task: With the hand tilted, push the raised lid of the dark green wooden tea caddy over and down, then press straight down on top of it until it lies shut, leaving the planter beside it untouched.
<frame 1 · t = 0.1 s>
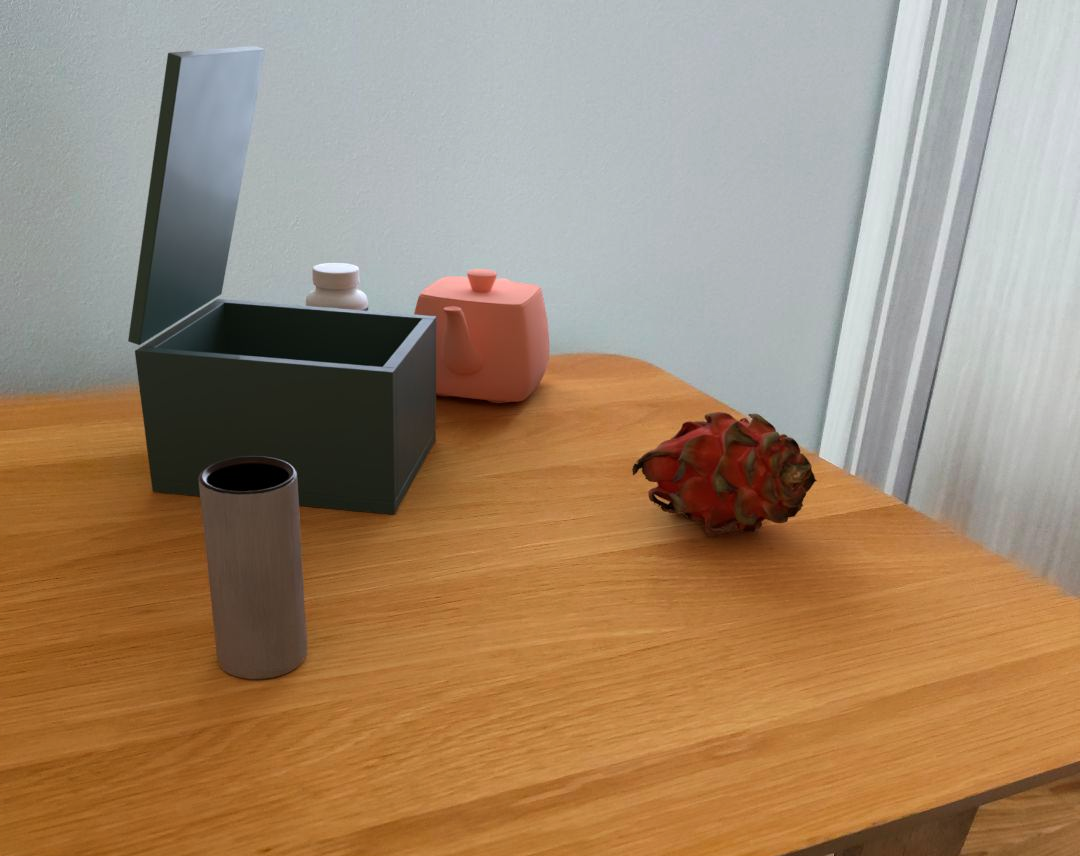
dragon fruit: (715, 527, 72), on the table
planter: (263, 659, 55), on the table
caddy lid: (198, 191, 69), point 19 cm above the table, hinge at 75.0°
teapot: (476, 392, 94), on the table
pill bottle: (339, 377, 96), on the table
caddy: (304, 464, 77), on the table
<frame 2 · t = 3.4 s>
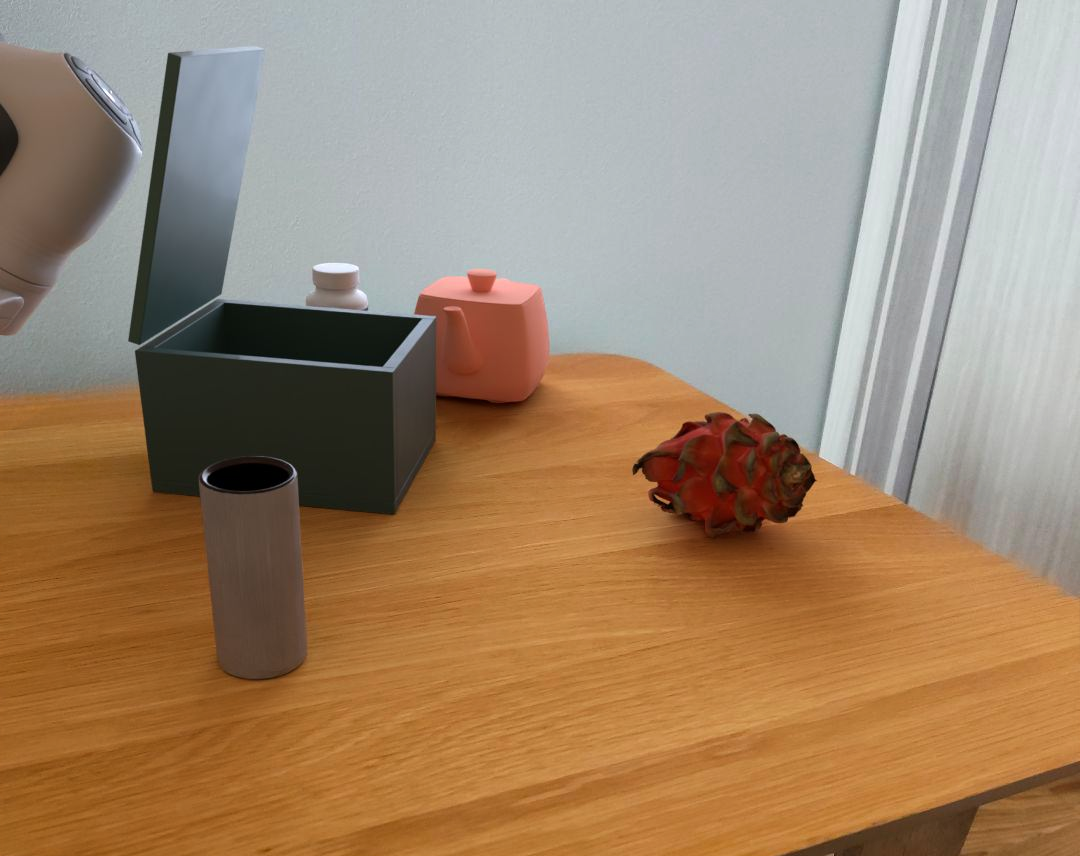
nothing on the table moved.
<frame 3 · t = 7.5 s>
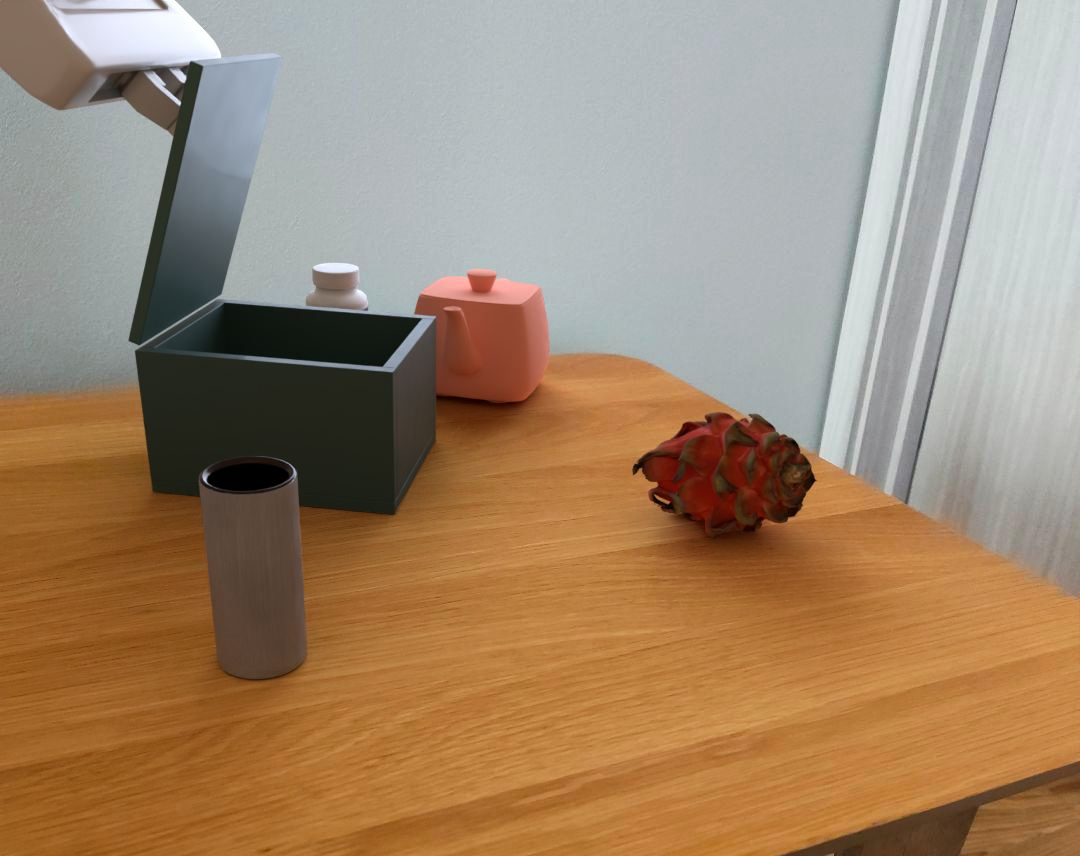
hand: (206, 140, 68), 22 cm above the table, tool tilted 45°, fingers closed, pressing on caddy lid
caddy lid: (208, 194, 69), point 19 cm above the table, hinge at 70.8°, touching gripper
everything else where it was.
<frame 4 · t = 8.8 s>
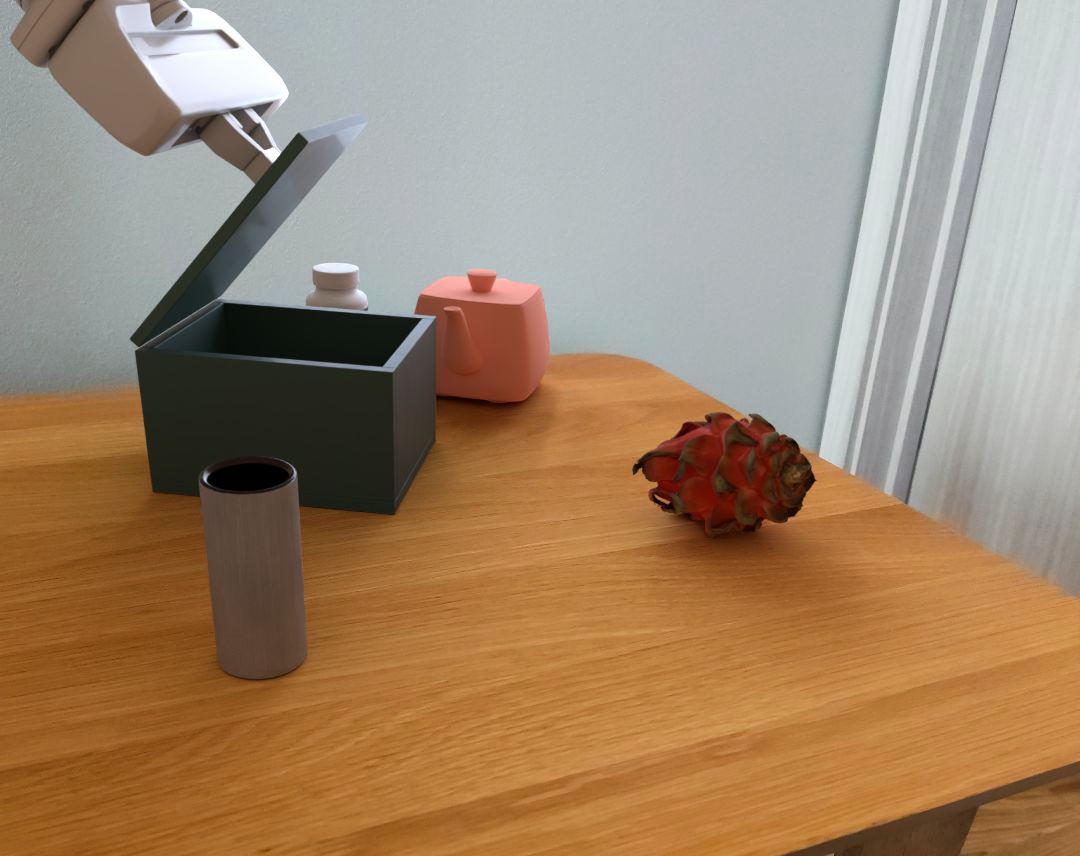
hand: (280, 180, 68), 20 cm above the table, tool tilted 45°, fingers closed
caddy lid: (254, 225, 70), point 17 cm above the table, hinge at 48.0°, touching gripper
everything else where it was.
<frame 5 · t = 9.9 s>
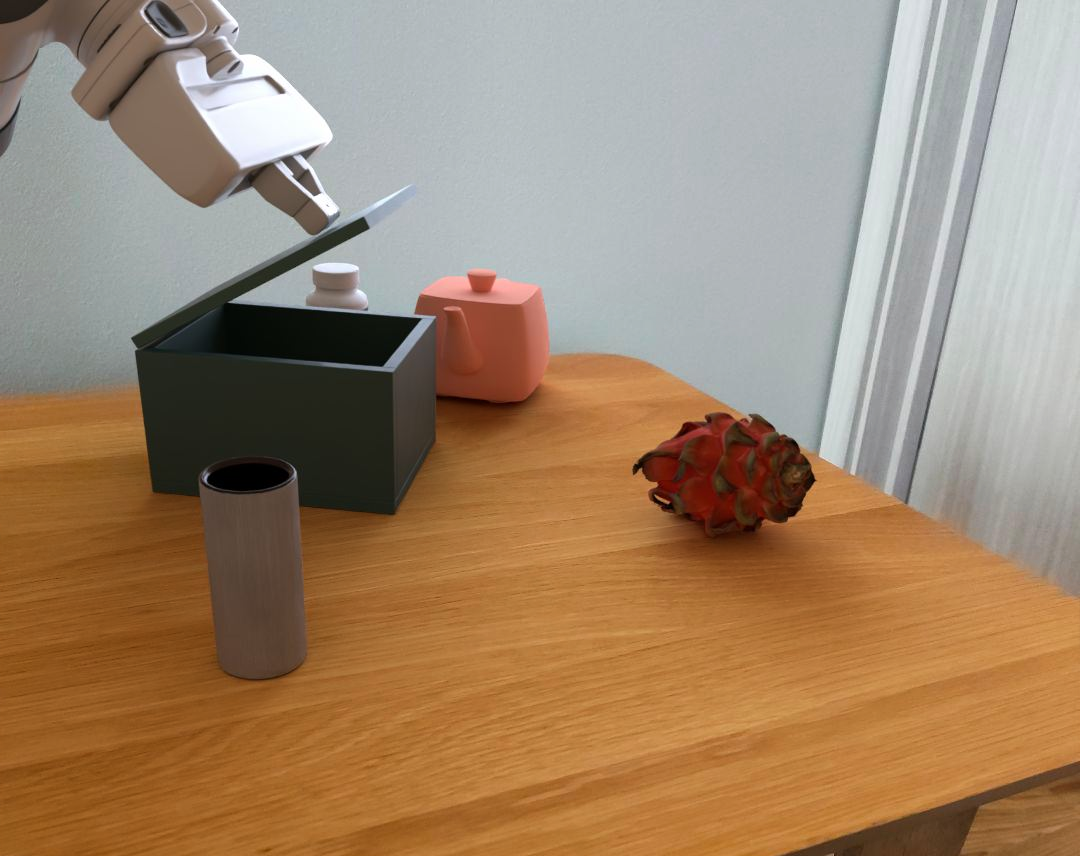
hand: (328, 225, 69), 17 cm above the table, tool tilted 45°, fingers closed, pressing on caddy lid
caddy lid: (282, 261, 71), point 15 cm above the table, hinge at 29.2°, touching gripper
everything else where it was.
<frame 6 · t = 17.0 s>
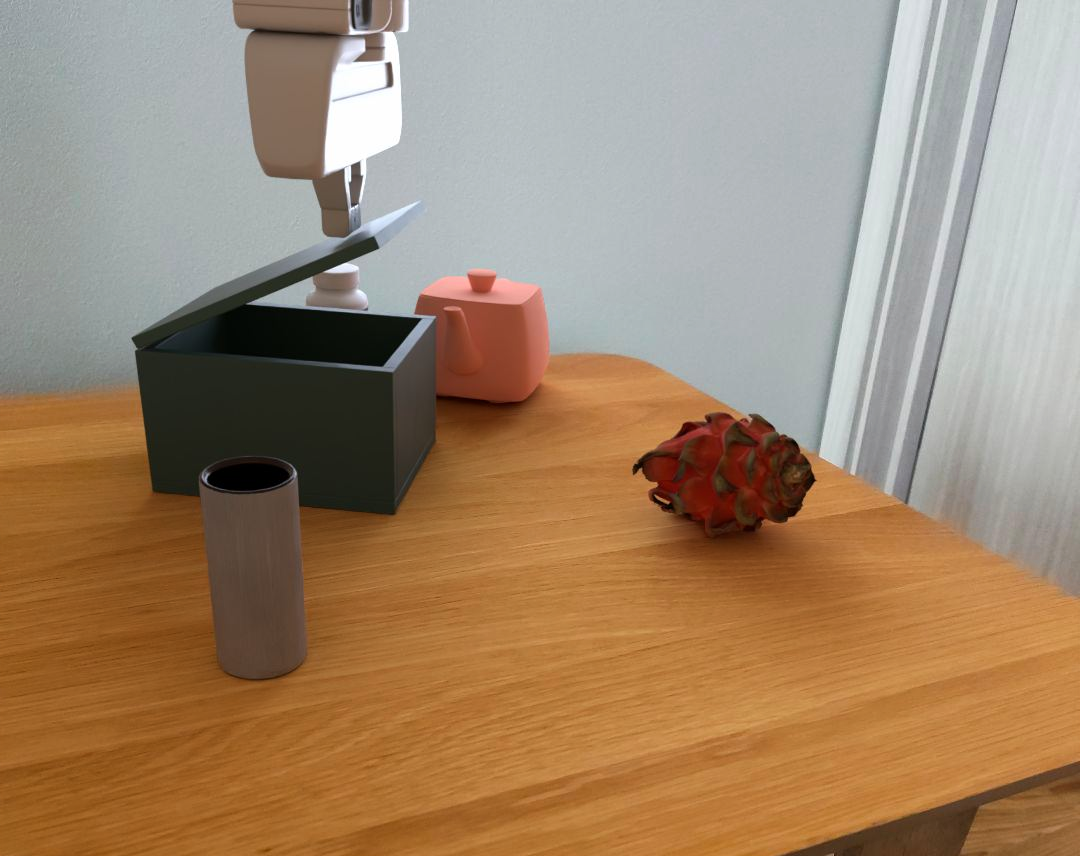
hand: (342, 233, 69), 17 cm above the table, tool pointing down, fingers closed
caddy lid: (287, 270, 71), point 14 cm above the table, hinge at 25.1°, touching gripper
everything else where it was.
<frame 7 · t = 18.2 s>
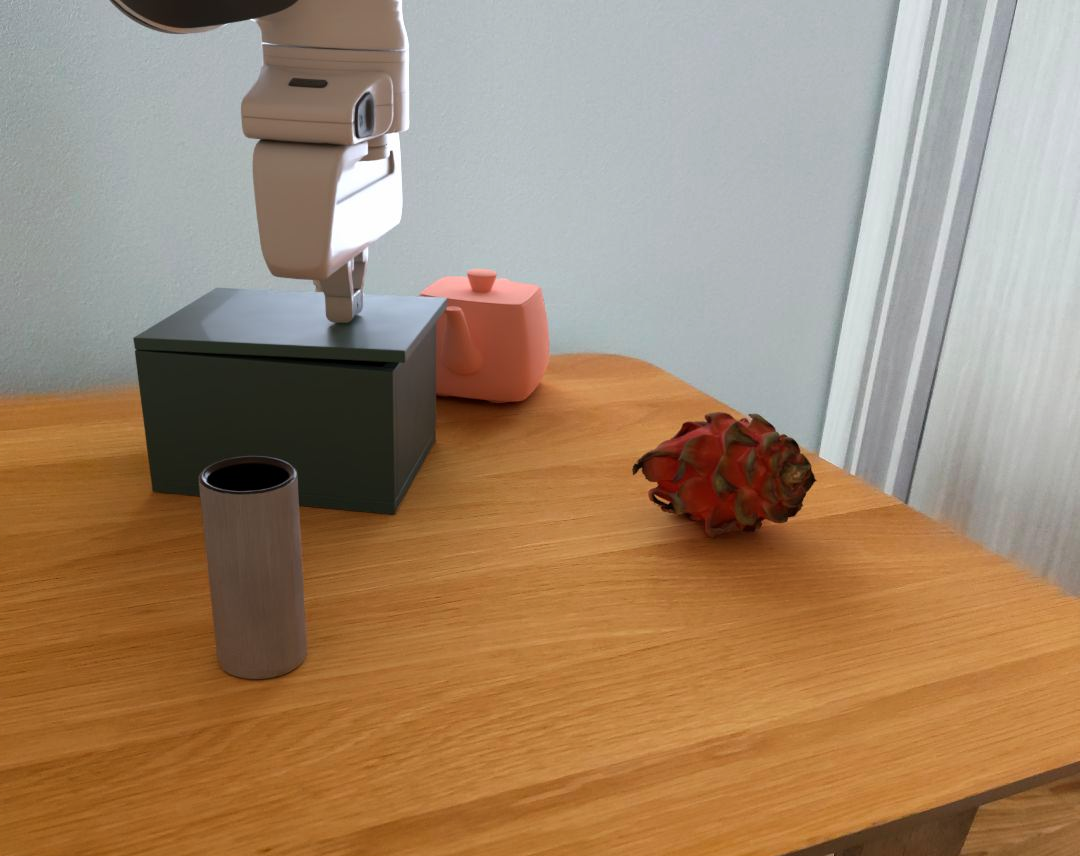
hand: (345, 317, 72), 11 cm above the table, tool pointing down, fingers closed, pressing on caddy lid
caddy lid: (301, 321, 73), point 11 cm above the table, hinge at 1.9°, touching gripper
everything else where it was.
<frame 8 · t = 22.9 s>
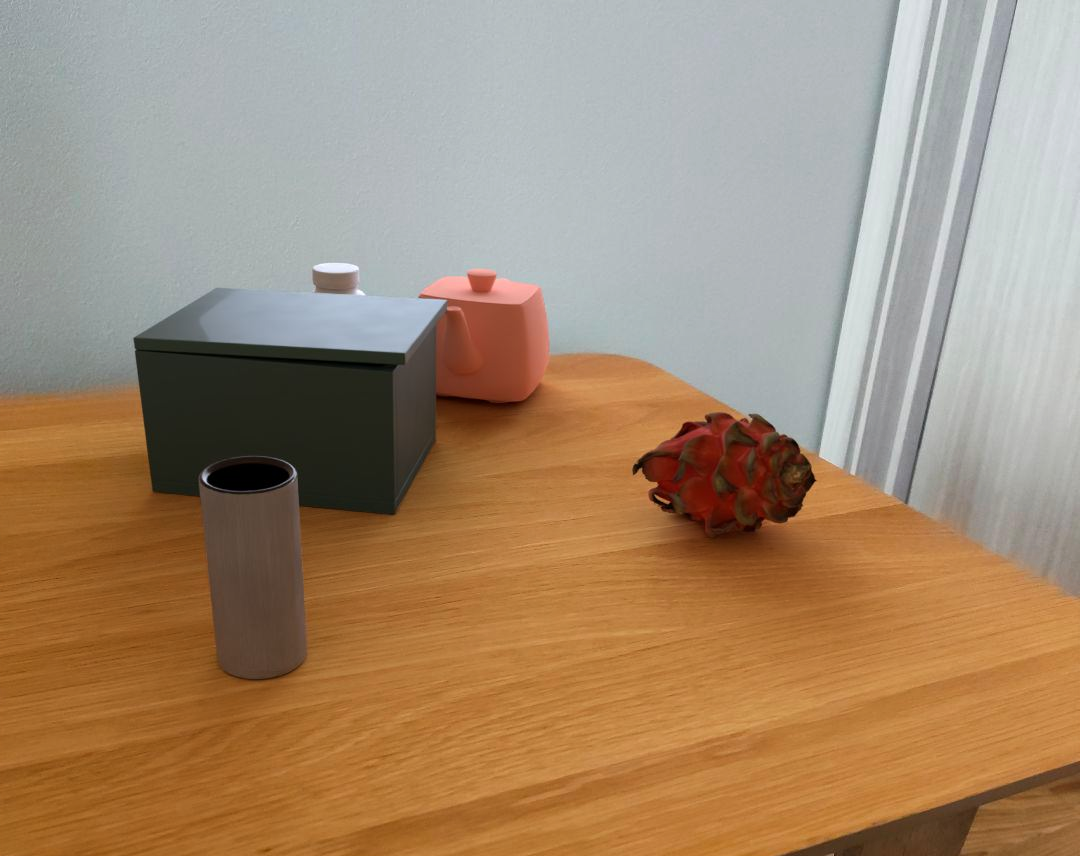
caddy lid: (301, 322, 73), point 11 cm above the table, hinge at 1.5°
everything else where it was.
at the end: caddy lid at +2° (first picture: +75°); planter moved 0.2 cm from its start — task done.
